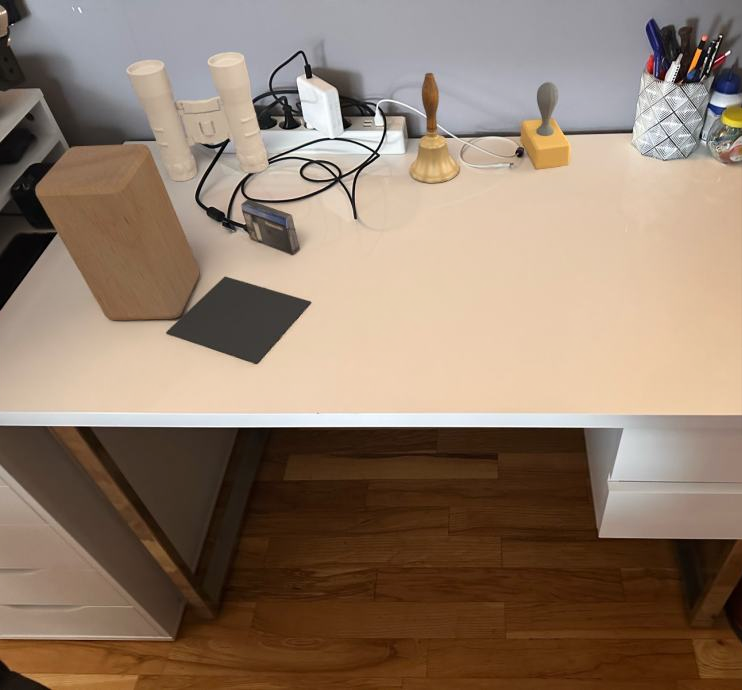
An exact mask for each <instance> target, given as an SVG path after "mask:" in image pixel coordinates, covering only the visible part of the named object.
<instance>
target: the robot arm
mask: <svg viewBox="0 0 742 690" xmlns="http://www.w3.org/2000/svg"><path fill="white" fill-rule="evenodd" d="M8 17H9V16H8V12H7V10H6V8H5V7H4V6H2V5H1V4H0V92H3V93H5V92H8V91H9V90H11V89H13V88H15V87H17V86H20V85H21V84H23V83H25V82H26V80H27V79H26V75H25V74H24V72H23V70H22V68H21V66H20V64H19V61H18V59H17V57H16V56H15V53H14V51H13V49H12V47H11V45H12V39H11V38H10V34H11V30H10V27H9V19H8Z"/></svg>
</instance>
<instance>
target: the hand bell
mask: <svg viewBox="0 0 742 690" xmlns="http://www.w3.org/2000/svg"><path fill="white" fill-rule="evenodd" d="M434 75H435V74H434V73H432V72H426V73H425V74H424V79H423V82H422V86H421V101H422V106H423V109H424V111H425V117H426V135H423V136H421V138H420V139H419V141H418V151H417V155H416V158H415V160H414V161H413V162H412V163H411V164H410V167H409V170H408V171H409V175H410V176H411V177H412V178H413V179H414V180H416V181H417V182H421V183H427V184H439V183H444V182H448V181H450V180H452V179H454V178H455V177H456V176H457V175H458V174H459V172H460V165H459V163H458V162H457V161H456V160H455V159H454V158H453V157H452V156H451V154H450V152H449V148H448V143H447V139H446V138H445V136H443V135H442V134H438V122H437V111H438V108H439V102H440V101H439V99H440V96H439V95H440V93H439V88H438V85H437V82H436V80H435V76H434Z"/></svg>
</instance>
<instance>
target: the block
mask: <svg viewBox="0 0 742 690" xmlns="http://www.w3.org/2000/svg"><path fill="white" fill-rule="evenodd" d="M34 191H35V196H36V198H37V199H38V201H39V203H40V204H41V207H42V208H43V210H44V211H45V213H46V216H47V217H48V218H49V220H50V222H51V224H52V225H53V227H54V229H55V231H56V232H57V234H58V236H59V237H60V238H59V239H61V241H62V243H63V245H64V247H65V248H66V250H67V251H68V254H69V255H70V257H71V259H72V260H73V262H74V264H75V266H76V267H77V269H78V271H79V272H80V274H81V277H82V278H83V279H84V281H85V283H86V285H87V286H88V288H89V290H90V292H91V294H92V295H93V297H94V299H95V301H96V302H97V304H98V306H99V307H100V309H101V312H102V313H103V315H104V316H105V318H107V319H108V320H110V321H111V320H112V321H125V320H126V321H132V320H134V321H135V320H174V319H176V318H179V317H180V316H181V315H182V313H183V310H184V308H185V306H186V305H187V303H188V300H189V298H190V295H191V294H192V291H193V289H194V287H195V286H196V283H197V280H198V279H199V276H200V268H199V265H198V263H197V260H196V258H195V256H194V253H193V251H192V248H191V246H190V244H189V241H188V239H187V236H186V234H185V231H184V229H183V227H182V224H181V222H180V220H179V216H178V214H177V212H176V210H175V208H174V205H173V203H172V200H171V198H170V195H169V193H168V191H167V188H166V185H165V183H164V181H163V178H162V176H161V172H160V171H159V168H158V166H157V163H156V161H155V159H154V156H153V154H152V151H151V149H150V148H149V146H147V144H143V143H129V144H126V143H125V144H103V145H80V146H78V145H77V146H72V147H70V148H68V149H67V150H66V151H65V152H64V153H63V154H62V156H60V157H59V159H58V160H57V161H56V162H55V164H53V166H52V167H51V168H50V169H49V170H48V171H47V173H46V174H45V175H44V176H43V177H42V178H41V180H40V181H39V182H38V183H37V184H36V185H35V189H34Z"/></svg>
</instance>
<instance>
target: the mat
mask: <svg viewBox="0 0 742 690" xmlns="http://www.w3.org/2000/svg"><path fill="white" fill-rule="evenodd" d="M311 304H312V301H311V300H307V299H304V298H302V297H301V298H300V297H297V296H295V295H290V294H287V293H284V292H280V291H277V290H273V289H270V288H266V287H264V286H260V285H257V284H253V283H249V282H246V281H243V280H239V279H236V278H233V277H229V276H226V275H225V276H224V277H222V278H221V279H220V280H219V281H218V282H217V283H215V285H214V286H213V287H212V288H211V289H210V290H209V291H207V292H206V293H205V295H204V296H202V297H201V298H200V299H199V300H198V301H197V302H196V303H195V304H194V305H193V306H192V307H191V308H190V309H189V310H188V311H186V313H184V314H183V316H181V317H180V318H179V319H178V320H177V321H175V323H174V324H172V326H171V327H170V328H169V329H167V331H166V332H165V333H166V335H169V336H171V337H175V338H178V339H180V340H183V341H186V342H190V343H192V344H196V345H198V346H202V347H204V348H207V349H211V350H213V351H216V352H220V353H222V354H226V355H228V356H231V357H234V358H237V359H240V360H244V361H245V362H250V363H252V364H255V365H258V364H259V363H260V362H261V361H262V359H263V358H265V356H266V355H267V354H268V353H269V352H270V350H272V348H273V347H274V346H275V345H276V344H277V343H278V341H279V340H280V339H282V337H283V336H284V334H286V332H287V331H288V330H289V329H290V328H291V327H292V326H293V324H294V323H295V322H296V321H297V320H298V318H300V316H301V315H302V314H303V313H304V312H305V311H306V310H307V308H309V306H310V305H311Z"/></svg>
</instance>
